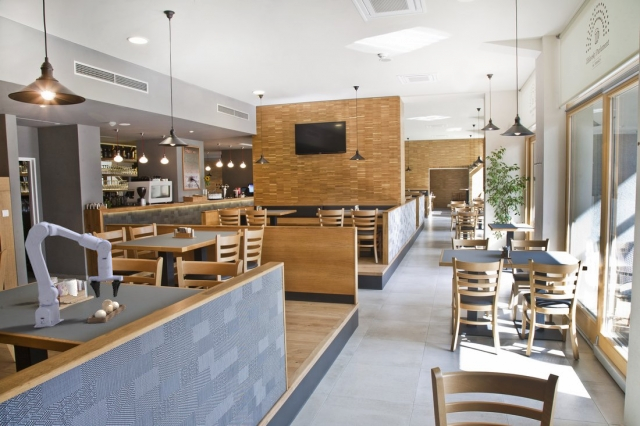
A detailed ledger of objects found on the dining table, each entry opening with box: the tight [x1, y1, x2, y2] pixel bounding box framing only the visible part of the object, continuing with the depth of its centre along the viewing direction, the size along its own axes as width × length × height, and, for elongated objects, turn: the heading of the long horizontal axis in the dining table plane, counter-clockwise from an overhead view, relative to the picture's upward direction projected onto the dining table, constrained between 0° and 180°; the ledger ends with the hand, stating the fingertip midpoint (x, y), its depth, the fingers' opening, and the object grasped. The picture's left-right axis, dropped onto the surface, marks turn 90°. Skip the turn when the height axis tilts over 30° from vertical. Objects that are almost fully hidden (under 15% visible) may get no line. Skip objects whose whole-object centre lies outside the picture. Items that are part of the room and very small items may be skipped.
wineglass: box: [50, 276, 59, 286], centre depth 230 cm, size 7×7×12 cm
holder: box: [87, 303, 127, 324], centre depth 200 cm, size 21×8×3 cm, turn 2°
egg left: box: [94, 309, 106, 318], centre depth 193 cm, size 4×4×4 cm
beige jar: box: [101, 299, 113, 313], centre depth 200 cm, size 4×4×7 cm
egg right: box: [112, 301, 120, 309], centre depth 207 cm, size 4×4×4 cm
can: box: [62, 277, 78, 296], centre depth 227 cm, size 6×6×12 cm
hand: (106, 296), depth 200 cm, fingers open, 7 cm apart
